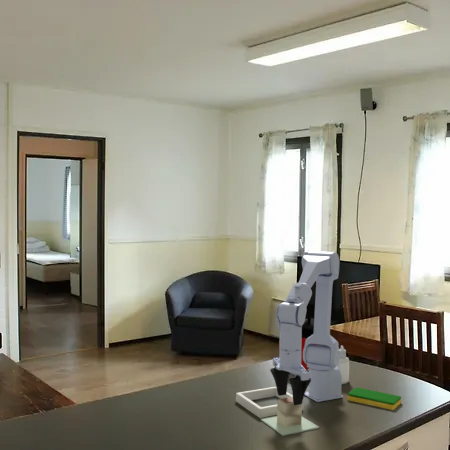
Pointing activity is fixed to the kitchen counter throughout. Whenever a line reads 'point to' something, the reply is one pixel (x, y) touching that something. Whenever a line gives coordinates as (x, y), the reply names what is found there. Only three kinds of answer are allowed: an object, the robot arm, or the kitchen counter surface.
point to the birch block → (288, 412)
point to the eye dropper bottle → (343, 365)
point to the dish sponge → (374, 398)
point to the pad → (282, 430)
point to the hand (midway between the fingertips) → (289, 399)
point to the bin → (247, 396)
